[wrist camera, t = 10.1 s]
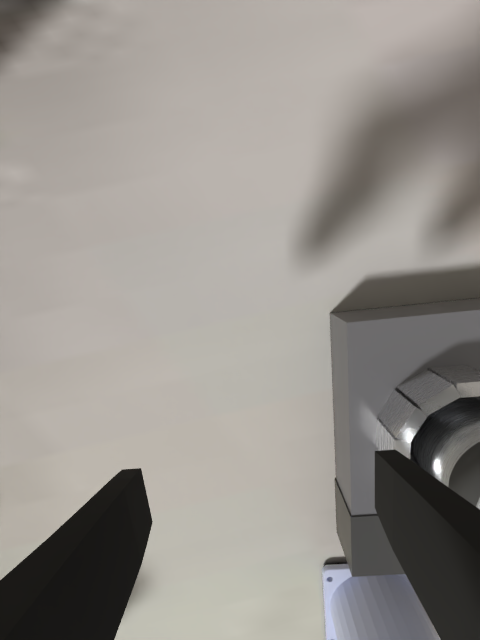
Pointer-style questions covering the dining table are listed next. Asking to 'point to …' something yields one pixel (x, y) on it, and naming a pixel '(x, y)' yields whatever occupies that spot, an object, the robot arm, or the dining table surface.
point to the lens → (452, 447)
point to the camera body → (391, 403)
